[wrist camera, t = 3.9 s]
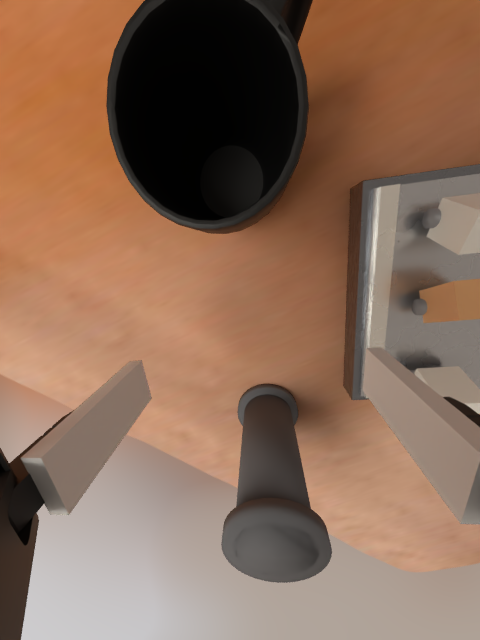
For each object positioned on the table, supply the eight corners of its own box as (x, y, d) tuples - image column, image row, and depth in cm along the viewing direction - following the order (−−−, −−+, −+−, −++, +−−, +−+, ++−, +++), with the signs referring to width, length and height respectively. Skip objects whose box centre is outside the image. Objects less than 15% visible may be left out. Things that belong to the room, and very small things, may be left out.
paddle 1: (430, 196, 14) (475, 211, 11) (493, 188, 14) (555, 201, 11) (416, 234, 16) (452, 255, 13) (472, 227, 15) (522, 248, 12)
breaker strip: (350, 189, 17) (367, 178, 15) (508, 166, 16) (558, 150, 13) (343, 385, 23) (354, 404, 20) (461, 380, 21) (489, 398, 19)
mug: (338, 114, 16) (444, -61, 7) (244, 257, 19) (233, 266, 10) (244, 35, 15) (224, -289, 6) (164, 200, 19) (76, 156, 10)
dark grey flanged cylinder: (235, 385, 24) (214, 512, 12) (295, 382, 23) (332, 514, 12) (241, 432, 26) (228, 580, 14) (297, 431, 25) (331, 584, 14)
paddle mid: (409, 292, 17) (448, 281, 13) (461, 288, 17) (514, 275, 13) (413, 323, 17) (453, 321, 13) (465, 319, 16) (521, 316, 13)
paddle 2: (408, 362, 18) (437, 404, 15) (457, 359, 17) (496, 402, 15) (398, 380, 19) (423, 421, 17) (443, 377, 19) (476, 419, 16)
